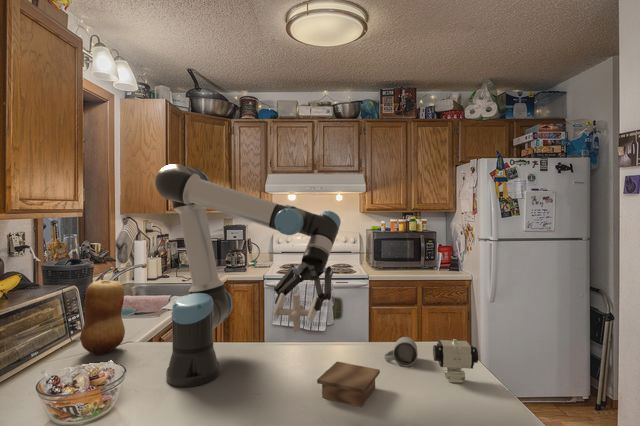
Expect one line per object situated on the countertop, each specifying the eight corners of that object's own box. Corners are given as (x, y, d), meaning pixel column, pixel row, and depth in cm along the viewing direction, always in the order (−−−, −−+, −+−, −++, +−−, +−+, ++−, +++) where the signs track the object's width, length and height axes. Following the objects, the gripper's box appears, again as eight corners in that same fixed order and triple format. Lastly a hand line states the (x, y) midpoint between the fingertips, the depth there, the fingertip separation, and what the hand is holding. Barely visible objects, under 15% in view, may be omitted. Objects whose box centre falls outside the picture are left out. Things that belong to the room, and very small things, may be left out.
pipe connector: (310, 337, 98) (309, 299, 98) (273, 335, 100) (273, 298, 100) (318, 326, 108) (317, 291, 108) (284, 324, 110) (284, 290, 110)
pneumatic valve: (432, 376, 112) (432, 335, 112) (473, 378, 110) (473, 337, 110) (436, 384, 106) (436, 342, 106) (479, 387, 105) (479, 344, 105)
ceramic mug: (417, 357, 126) (416, 334, 126) (417, 367, 118) (417, 343, 118) (385, 355, 128) (384, 333, 128) (383, 365, 120) (383, 341, 120)
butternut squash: (123, 356, 127) (122, 283, 127) (76, 363, 122) (75, 286, 122) (126, 343, 140) (126, 276, 140) (84, 348, 135) (84, 279, 135)
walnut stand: (317, 398, 99) (317, 379, 99) (336, 378, 111) (336, 361, 111) (364, 409, 93) (364, 389, 93) (379, 387, 105) (379, 369, 105)
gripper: (354, 262, 113) (334, 330, 99) (290, 259, 123) (263, 320, 109) (348, 246, 108) (325, 315, 94) (281, 244, 118) (251, 306, 104)
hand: (292, 318), depth 102 cm, fingers closed on pipe connector, 10 cm apart
